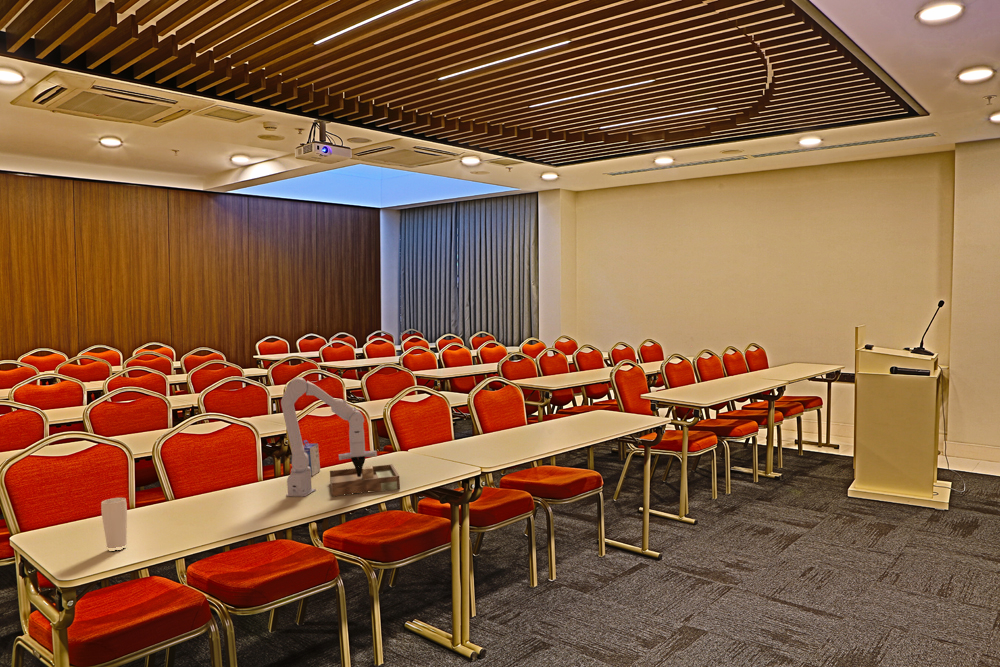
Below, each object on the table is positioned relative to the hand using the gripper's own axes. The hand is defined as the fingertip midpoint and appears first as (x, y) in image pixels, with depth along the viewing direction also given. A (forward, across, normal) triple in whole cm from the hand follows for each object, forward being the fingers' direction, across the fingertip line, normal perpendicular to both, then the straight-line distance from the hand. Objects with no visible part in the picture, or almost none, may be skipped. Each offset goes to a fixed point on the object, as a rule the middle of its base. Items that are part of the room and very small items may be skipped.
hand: (359, 476), depth 282 cm
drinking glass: (+4, +76, +45) cm, 88 cm away
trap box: (+4, -2, 0) cm, 4 cm away
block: (+1, -3, 0) cm, 4 cm away
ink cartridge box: (+4, +18, -32) cm, 37 cm away
